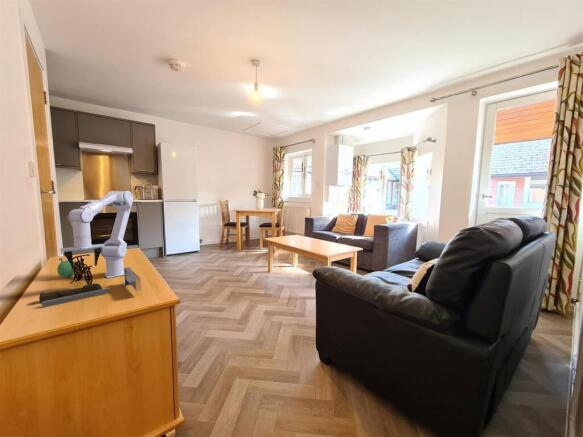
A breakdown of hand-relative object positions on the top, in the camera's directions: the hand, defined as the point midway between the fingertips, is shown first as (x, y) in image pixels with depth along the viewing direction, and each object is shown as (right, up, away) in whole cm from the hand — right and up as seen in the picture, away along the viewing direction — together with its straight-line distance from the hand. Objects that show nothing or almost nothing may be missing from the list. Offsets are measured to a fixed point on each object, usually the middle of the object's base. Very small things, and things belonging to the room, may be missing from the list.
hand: (84, 266), depth 107 cm
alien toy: (-21, -8, +14) cm, 27 cm away
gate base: (+16, -9, +5) cm, 19 cm away
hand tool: (+3, -11, -9) cm, 14 cm away
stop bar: (+7, -11, -11) cm, 17 cm away
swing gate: (+22, -9, -1) cm, 24 cm away
